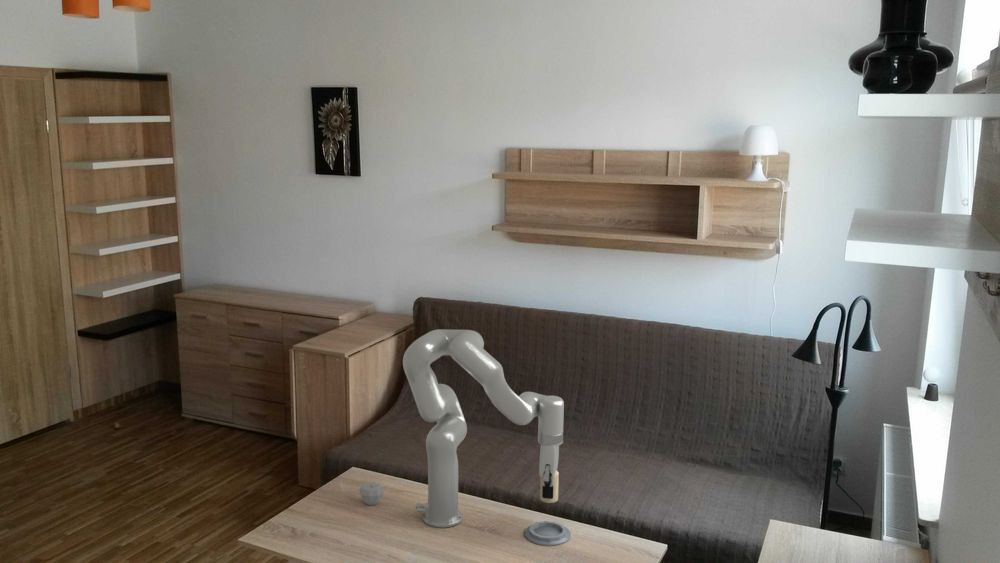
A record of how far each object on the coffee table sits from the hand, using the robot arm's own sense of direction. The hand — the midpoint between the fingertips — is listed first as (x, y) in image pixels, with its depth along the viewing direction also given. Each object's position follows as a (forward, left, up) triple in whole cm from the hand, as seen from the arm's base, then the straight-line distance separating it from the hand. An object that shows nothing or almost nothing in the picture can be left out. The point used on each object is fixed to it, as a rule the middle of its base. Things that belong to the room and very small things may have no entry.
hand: (549, 493), depth 252 cm
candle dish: (0, 0, -14) cm, 14 cm away
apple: (-60, +9, -14) cm, 62 cm away
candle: (0, 0, -2) cm, 2 cm away
